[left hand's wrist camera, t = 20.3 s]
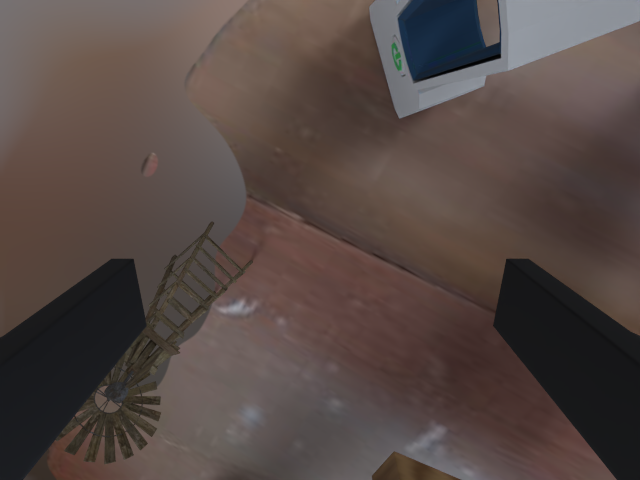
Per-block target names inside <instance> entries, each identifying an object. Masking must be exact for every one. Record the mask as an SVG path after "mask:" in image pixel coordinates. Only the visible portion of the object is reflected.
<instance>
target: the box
mask: <svg viewBox="0 0 640 480" xmlns="http://www.w3.org/2000/svg"><path fill="white" fill-rule="evenodd" d="M372 480H460V479H458V478H456V477H453V476H451V475H448V474H446V473H444V472H441V471H439V470H437V469H434V468H432V467H430V466H427V465H425V464H423V463H420V462H418V461H416V460H413V459H411V458H409V457H406V456H404V455H401V454H399V453H397V452H393V453H392V454H391V455H390V456H389V458H388V459H387V460H386V461H385V462H384V463H383V464H382V465H381V466H380V468H379V469H378V470H377V471H376V472H375V473H374V474H373V475H372Z"/></svg>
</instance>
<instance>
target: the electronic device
mask: <svg viewBox="0 0 640 480" xmlns="http://www.w3.org/2000/svg"><path fill="white" fill-rule="evenodd" d="M497 2H498V13H499V25H500V42H499V43H496V44H494V45H491V46H488V47H486V45H485V43H484V39H483V36H482V32H481V28H480V22H479V17H478V9H477V0H375V1H374V2H373V3H372V4H371V5H370V7H369V11H370V20H371V24H372V28H373V31H374V35H375V39H376V42H377V46H378V50H379V53H380V57H381V61H382V64H383V68H384V72H385V75H386V79H387V83H388V86H389V90H390V93H391V97H392V101H393V104H394V108H395V111H396V113H397V115H398V117H399V119H400V118H403V117H406V116H408V115H411V114H414V113H416V112H419V111H422V110H424V109H427V108H430V107H432V106H435V105H438V104H440V103H443V102H446V101H448V100H451V99H453V98H456V97H459V96H461V95H464V94H466V93H468V92H471V91H473V90H476V89H478V88H481V87H483V86H484V84H485V78H486V75H490V74H495V73H500V72H505V71H509V70H511V69H514V68H517V67H519V66H522V65H525V64H527V63H530V62H532V61H535V60H538V59H540V58H543V57H546V56H548V55H551V54H554V53H556V52H559V51H562V50H564V49H567V48H569V47H572V46H575V45H577V44H580V43H583V42H585V41H588V40H591V39H593V38H596V37H599V36H601V35H604V34H607V33H609V32H612V31H614V30H617V29H620V28H622V27H625V26H628V25H630V24H633V23H636V22H638V21H640V0H497Z"/></svg>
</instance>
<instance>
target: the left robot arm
mask: <svg viewBox="0 0 640 480" xmlns="http://www.w3.org/2000/svg"><path fill="white" fill-rule="evenodd" d="M146 326H147V325H146V320H145V315H144V309H143V305H142V299H141V294H140V289H139V284H138V279H137V274H136V269H135V264H134V259H111V260H109V261H108V262H107V263H105V264H104V265H102V266H101V267H100V268H98V269H97V270H95V271H94V272H93V273H91V274H90V275H88V276H87V277H86V278H84V279H83V280H81V281H80V282H79V283H77V284H76V285H74V286H73V287H71V288H70V289H69V290H67V291H66V292H65V293H63V294H62V295H60V296H59V297H57V298H56V299H55V300H53V301H52V302H51V303H49V304H48V305H46V306H45V307H43V308H42V309H41V310H39V311H38V312H36V313H35V314H34V315H32V316H31V317H29V318H28V319H27V320H25V321H24V322H22V323H21V324H20V325H18V326H17V327H15V328H14V329H13V330H11V331H10V332H8V333H7V334H6V335H4V336H2V337H0V480H23V479H24V478H25V476H26V475H27V474H28V473H29V472H30V470H31V469H32V468H33V467H34V465H35V464H36V463H37V462H38V460H39V459H40V458H41V457H42V455H43V454H44V453H45V452H46V450H47V449H48V448H49V447H50V445H51V444H52V443H53V442H54V440H55V439H56V438H57V437H58V436H59V434H60V433H61V432H62V431H63V429H64V428H65V427H66V426H67V424H68V423H69V422H70V421H71V419H72V418H73V417H74V416H75V414H76V413H77V412H78V411H79V409H80V408H81V407H82V406H83V404H84V403H85V402H86V401H87V399H88V398H89V397H90V396H91V395H92V393H93V392H94V391H95V390H96V388H97V387H98V386H99V385H100V383H101V382H102V381H103V380H104V378H105V377H106V376H107V375H108V373H109V372H110V371H111V370H112V368H113V367H114V366H115V365H116V363H117V362H118V361H119V360H120V358H121V357H122V356H123V355H124V353H125V352H126V351H127V350H128V349H129V347H130V346H131V345H132V344H133V342H134V341H135V340H136V339H137V337H138V336H139V335H140V334H141V332H142V331H143V330H144V329H145V327H146ZM493 326H494V327H495V329H496V330H497V331H498V332H499V334H500V335H501V336H502V337H503V339H504V340H505V341H506V342H507V344H508V345H509V346H510V347H511V349H512V350H513V351H514V352H515V353H516V355H517V356H518V357H519V358H520V360H521V361H522V362H523V363H524V365H525V366H526V367H527V368H528V370H529V371H530V372H531V373H532V375H533V376H534V377H535V378H536V380H537V381H538V382H539V383H540V385H541V386H542V387H543V388H544V390H545V391H546V392H547V393H548V395H549V396H550V397H551V398H552V399H553V401H554V402H555V403H556V404H557V406H558V407H559V408H560V409H561V411H562V412H563V413H564V414H565V416H566V417H567V418H568V419H569V421H570V422H571V423H572V424H573V426H574V427H575V428H576V429H577V431H578V432H579V433H580V434H581V436H582V437H583V438H584V439H585V440H586V442H587V443H588V444H589V445H590V447H591V448H592V449H593V450H594V452H595V453H596V454H597V455H598V457H599V458H600V459H601V460H602V462H603V463H604V464H605V465H606V467H607V468H608V469H609V470H610V472H611V473H612V474H613V475H614V477H615V478H616V479H617V480H640V336H639V335H637V334H635V333H633V332H630V331H629V330H627V329H626V328H625V327H623V326H622V325H620V324H619V323H618V322H616V321H615V320H613V319H612V318H611V317H609V316H608V315H606V314H605V313H604V312H602V311H601V310H599V309H598V308H597V307H595V306H594V305H592V304H591V303H590V302H588V301H587V300H585V299H584V298H583V297H581V296H580V295H578V294H577V293H576V292H574V291H573V290H571V289H570V288H569V287H567V286H566V285H564V284H563V283H561V282H560V281H559V280H557V279H556V278H554V277H553V276H552V275H550V274H549V273H547V272H546V271H545V270H543V269H542V268H540V267H539V266H538V265H536V264H535V263H533V262H532V261H531V260H529V259H506V264H505V269H504V274H503V279H502V284H501V289H500V294H499V299H498V304H497V309H496V315H495V320H494V325H493Z"/></svg>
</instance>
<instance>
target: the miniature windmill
mask: <svg viewBox="0 0 640 480" xmlns="http://www.w3.org/2000/svg"><path fill="white" fill-rule="evenodd" d="M213 224H214V223H213V222H211V223H210V224H209V226H208V227H207V229H206V231H205V232H204V234H202V235H201V236H200V237H199V238H198V239H197V240H196V241H195V242H193V243H192V244H191V245H190V246H189V247H188V248H187V249H186V250H185V251H183V252H182V253H181V254H180V255H179V256H178V257H177V256H176V255H174V256H173V257H172V259H171V261H170V263H169V265H168V266H167V267H166V268H165V270H166V269H167V270H166V273H165V275H164V277H163V279H162V282H161V283H160V284H159V285H158V288H159V289H158V291H157V293H156V295H155V298H154V300H153V301H152V302H151V303H150V304H149V307H150V309H149V312H148V314H147V316H146V318H145V320H146V325H147V326H146V327H145V329H144V330H143V331H142V332H141V334H140V335H139V336H138V337H137V339H136V340H135V341H134V342H133V344H132V345H131V346H130V347H129V349H128V350H127V351H126V352H125V353H124V355H123V356H122V357H121V358H120V360H119V361H118V362H117V364H116V367H115V371H114V374H113V378H112V381H111V371H110V372H109V373H108V375H107V376H106V382H105V379H104V380H103V381H102V382H101V384H100V385H99V386H98V387H97V388H96V390H95V391H94V392H93V393H92V395H91V396H90V397H89V398H88V399H87V401H90V402H86V403H84V404H83V406H82V407H81V408H80V409H79V411H82V410H85V409H88V408H90V409H88V410H86V411H85V412H83V413H82V414H80V415H79V416H77V417H75V416H74V417H75V418H74V419H72V420H71V421H70V422H69V423H68V424H67V426H66V427H65V428H64V429H63V431H62V432H61V433H60V434H59V436H58V437H57V438H56V439H55V440H56V441H58V440H60V439H61V438H62V437H64V436H65V435H66V434H68V433H69V432H70V431H72V430H73V429H74V428H75V427H77V426H78V425H79V424H80V425H81V423H82V422H83V421H85V420H86V419H87V418H89V417H90V416H91V415H92V417H91V418H90V419H89V420H88V422H87V423H86V424H85V425H84V427H83V426H82V425H81V426H82V427H83V428H82V429H81V430H80V432H79V433H78V434H77V435H76V437H75V438H74V439H73V440H72V442H71V443H70V444H69V446H68V447H67V448H66V449H65V451H66V452H68V453H70V454H73V455H75V454H76V452H77V451H78V449H79V448H80V446H81V445H82V443H83V442H84V440H85V439H86V437H87V436H88V434H89V433H92V434H93V436H92V439H91V442H90V445H89V447H88V450H87V453H86V456H85V459H84V461H87V462H95V460H96V456H97V453H98V449H99V445H100V441H101V438H102V434H103V430H104V426H105V436H103V437H105V461H104V464H108V463H112V462H116V460H115V444H114V436H117V439H118V442H119V445H120V449H121V452H122V455H123V458H124V460H125V459H127V458H129V457H131V456H133V455H134V454H133V452H132V449H131V447H130V444H129V441H128V439H127V436H126V434H125V432H126V431H127V432H128V433H129V435H130V436H131V438H132V439H133V441H134V442H135V444H136V445H137V447H138V448H139V450H141V449H142V448H143V447H144V446H146V445H147V444H148V443H147V442H146V440H145V439H144V438H143V437H142V435H141V434H140V433H139V432H138V430H137V429H136V428H135V427H134V425H135V424H136V425H137V426H138V427H140V428H141V429H142V430H143V431H145V432H146V433H147V434H149V435H150V436H151V437H152V436H153V434H154V433H155V431H156V430H157V428H155V427H154V426H152V425H151V424H149V423H148V422H146V421H145V420H144V419H142V418H141V417H140V415H143V416H146V417H148V418H151V419H153V420H156V421H159V418H160V415H161V412H157V411H154V410H151V409H148V408H145V407H142V406H139V405H135V404H151V405H160V398H161V397H157V396H142V394H141V393H145V392H148V391H152V390H156V389H157V385H156V382H152V383H149V384H146V385H143V386H140V387H139V386H138V384H137V383H139V382H140V381H142V380H143V379H145V378H146V377H148V376H149V375H150V373H151V374H153V375H155V373H156V371H157V367H158V366H159V365H160V364H162V363H163V362H164V361H165V360H166V359H168V358H169V357H170V356H172V355H176V354H179V353H180V352H179V351H178V350H179V349H180V348H179V347H178V346H176V345H174V344H175V343H176V340H177V339H178V338H179V337H181V338H184V332H183V331H184V330H185V329H186V328H187V327H188V326H189V325H190V324H191V323H193V322H194V321H195V320H196V319H197V318H199V317H200V316H201V315H202V314H204V313H205V312H206V311H207V310H208V308H209V307H208V306H209V305H210V304H211V303H213V302H214V301H215V300H216V299H218V298H219V297H220V296H221V295H222V294H224V293H225V291H226V290H227V289H228V287H229V286H230V285H231V284H232V283H233V282H234V283H236V279H238V278H239V277H240V276H241V275H243V274H244V273H245V270H246V269H247V268H248V267H249V266H250V265H251V264H252V263H253V261H252V260H251V261H250V262H249V263H248V264H247V265H246V266H244V267H243V268H242V269H241V268H240V267H239V266H238V265H237V264H236V263H235V262H234V261H233V260H232V259H231V258H230V257H229V256H228V255H227V254H226V253H225V252H224V251H223V250H222V249H221V248H220V247H218V246H217V245H216V244H215V243H214V242H213V241H212V240H211V239H210V238H209V237H208V236H207V235H208V233H209V231H210V230H211V228H212V226H213ZM205 239H207V240H208V241H209V242H210V243H211V244H212V245H213V246H214V247H215V248H216V249H217V250H218V251H219V252H220V253H221V254H222V255H223V256H224V257H225V258H226V259H228V260H229V261H230V262H231V263H232V264H233V265H234V266H235V267H236V268H237V269H238V270H239V272H238V273H237V274H236V275H235V276H234V277H232V276H231V275H230V274H229V273H228V272H227V271H226V270H225V269H224V268H223V267H222V266H221V265H220V264H219V263H218V262H216V261H215V260H214V259H213V258H212V257H211V256H210V255H209V254H208V253H207V252H206V251H205V250H204V249H203V248H202V247H201V246H202V244H203V242H204V240H205ZM199 240H200V241H199ZM197 241H199V243H198V244H197V245H196V248H195V250H194V251H193V253H192V255H191V256H190V258H188V259H187V260H186V261H185V262H184V263H183V264H182V265H180V266H179V267H178V268H177V269H176V270H175V271H174V272H172V271H171V270H172V268H173V265H174V263H175V261H176V260H177V259H178V258H180V257H181V256H182V255H183V254H184V253H185V252H186V251H187V250H188V249H190V248H191V247H192V246H193V245H194V244H195V243H196V242H197ZM199 250H200V251H201V252H203V254H205V255H206V256H207V257H208V258H209V259H210V260H211V261H212V262H213V263H214V264H215V265H216V266H217V267H218V268H219V269H220V270H221V271H222V272H223V273H224V274H225V275H226V276H228V277H229V278H230V279H231V280H230V281H229V282H228V283H227V284H226V285H224V284H223V283H222V282H220V281H219V280H218V279H217V278H216V277H215V276H214V275H213V274H212V273H211V272H210V271H209V270H207V269H206V268H205V267H204V266H203V265H202V264H201V263H200V262H199V261H198V260H197V259H196V258H195V256H196V254H197V253H198V251H199ZM192 261H194V262H195V263H196V264H197V265H198V266H199V267H200V268H201V269H202V270H203V271H205V272H206V273H207V274H208V275H209V276H210V277H211V278H212V279H213V280H214V281H215V282H217V283H218V284H219V285H220V286H221V287H222V289H221V290H220V291H219V292H218V293H217V294H216V292H215V291H214V292H213V291H212V290H210V289H209V288H208V287H207V286H206V285H205V284H204V283H203V282H202V281H200V280H199V279H198V278H197V277H196V276H195V275H194V274H193V273H192V272H191V271H189V270H188V268H189V267H190V265H191V263H192ZM185 264H186V265H185ZM184 265H185V267H184V268H183V270H182V272H181V274H180V275H179V277H178V276H177V275H176V274H175V273H176V272H177V271H178V270H179V269H180V268H182V267H183V266H184ZM170 273H171V274H170ZM186 273H187V274H188V275H189V276H191V277H192V278H193V279H194V280H195V281H196V282H197V283H198V284H199V285H201V286H202V287H203V288H204V289H205V290H206V291H207V292H208V293H209V294H210V295H209V296H208V297H207V298H206V300H205V301H204V300H203V299H202V298H201V297H200V296H199V295H198V294H197V293H195V292H194V291H193V290H192V289H191V288H190V287H189V286H188V285H187V284H186V283H185V282H183V281H182V279H183V277H184V275H185V274H186ZM171 276H174V277H175V278H176V279H177V280H176V282H174V283H173V284H172V285H171V286H170V287H168V288H167V289H166V290H165V289H164V287H165V285H166V282H167V280H168V279H169V278H170V277H171ZM178 286H179V287H180V288H181V289H183V290H184V291H185V292H186V293H187V294H188V295H189V296H191V297H192V298H193V299H194V300H195V301H196V302H198V303H199V304H200V306H199V307H198V308H197V309H196V310H195V311H194V312H193V313H191V312H189V311H188V310H187V309H186V308H185V307H184V306H183V305H182V304H180V303H179V302H178V301H177V300H176V299H175V298H174V297H173V295H174V293H175V291H176V290H177V288H178ZM171 288H172V289H171ZM170 289H171V291H170V293H168V291H169V290H170ZM224 290H225V291H224ZM162 292H163V293H162ZM164 294H166V295H167V298H166V299H165V301H164V303H163V305H162V306H161V308H160V310H158V309H157V308H156V306H157V304H158V301H159V299H160V298H161V297H162V296H163V295H164ZM173 301H174V302H173ZM168 304H170V305H171V306H172V307H174V308H175V309H176V310H177V311H178V312H179V313H180V314H182V315H183V316H184V317H185V318H186V320H185V321H184V322H183V323H182V324H181V325H180V326H179V327H177V326H176V325H175V324H174V323H173V322H172V321H170V320H169V319H168V318H167V317H166V316H165V315H163V313H164V311H165V309H166V307H167V305H168ZM181 308H182V309H181ZM154 312H156V313H155V314H153V313H154ZM155 316H156V317H155ZM154 317H155V318H154ZM153 318H154V320H153V322H152V323H151V324H150V321H151V320H152V319H153ZM159 320H161V321H162V322H163V323H164V324H165V325H167V326H168V327H169V328H170V329H171V330H173V331H174V332H173V333H172V334H171V335H170V336H169V337H168V338H167V339H166V340H164V339H163V338H162V337H161V336H160V335H158V334H157V333H156V332H155V331H154V328H155V327H156V325H157V323H158V321H159ZM149 338H150V339H151V340H150V341H149V343H148V344H147V345H146V347H145V348H144V346H145V344H146V342H147V341H148V339H149ZM156 345H158V346H159V348H158V349H157V350H156V351H155V352H154V353H153V354H152V355H151V356H149V355H150V353H151V352H152V350H153V349H154V348H155V346H156ZM143 348H144V349H143ZM142 350H143V351H142ZM124 362H125V363H126V366H127V367H128V368H127V369H126V371H124V370H122V369H121V368H122V366H123V363H124ZM121 370H122V371H124V374H123V375H122V377H121V378H120V380H119V381H118V382H117V380H118V378H119V374H120V371H121ZM134 374H135V375H134ZM131 375H134V376H133V377H131ZM130 377H131V380H130V381H128V380H129V378H130ZM127 381H128V382H127ZM126 382H127V383H126ZM136 384H137V386H138V387H136V388H133V389H130V388H131V387H132V386H134V385H136ZM108 385H109V386H108ZM103 386H108V387H107V388H106V390H105V392H104V393H105V394H106V395H105V394H104V393H103V392H102V391H100V390H99V388H100V387H103ZM128 389H130V390H128ZM97 390H99V391H100V392H101V393H103V394H104V395H103V394H101V393H99V392H97ZM96 392H97V393H99V394H101V395H103V396H105V397H107V401H108V402H109V401H110V400H111V401H113V402H114V403H115V402H117V403H122V405H121V407H120V406H119V405H118V404H117V403H115V404H117V405H118V406H119V407H120V408H119V410H118V411H116V412H113V413H106V412H103V411H104V410H103V411H101V410H100V408H101V407H102V406H103V405H104V404H105V403H106V402H107V401H106V402H105V403H104V404H103V405H102V406H101V407H100V408H98V407H97V405H96V403H95V394H96ZM137 394H141V396H133V395H137ZM108 402H107V404H108ZM132 403H134V404H132ZM107 404H106V405H107ZM105 407H106V406H105ZM104 409H105V408H104ZM99 410H100V411H99ZM79 411H78V412H79ZM132 411H133V412H135V413H138V414H140V415H139V416H138V415H136V414H135V413H133V412H132ZM129 419H130V420H131V421H132V422H133V423H135V424H134V425H133V424H132V423H131V422H130V420H129ZM97 421H98V422H97ZM96 422H97V425H96V428H95V431H94V433H93V432H91V430H92V428H93V427H94V425H95V424H96ZM113 425H114V428H113ZM122 425H123V426H124V428H125V429H126V431H124V429H123V426H122ZM114 429H115V432H116V435H114Z"/></svg>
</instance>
